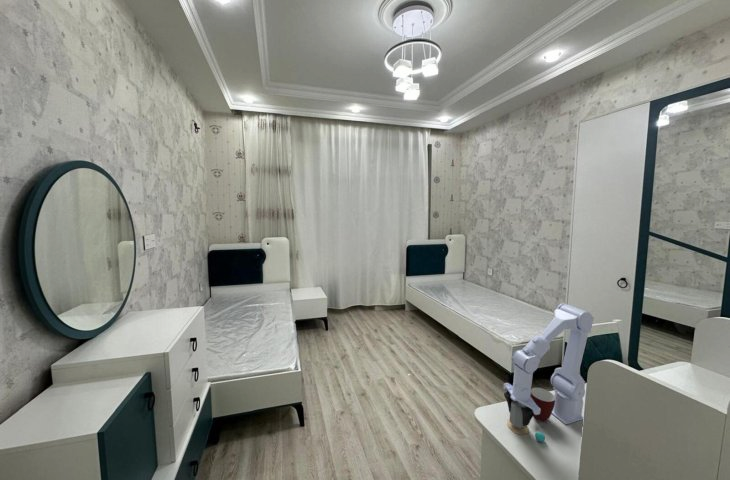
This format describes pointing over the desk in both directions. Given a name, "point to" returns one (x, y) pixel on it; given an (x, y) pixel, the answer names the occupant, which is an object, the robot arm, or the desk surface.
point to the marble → (540, 436)
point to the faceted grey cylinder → (517, 414)
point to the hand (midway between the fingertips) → (518, 418)
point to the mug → (543, 403)
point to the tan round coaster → (517, 429)
